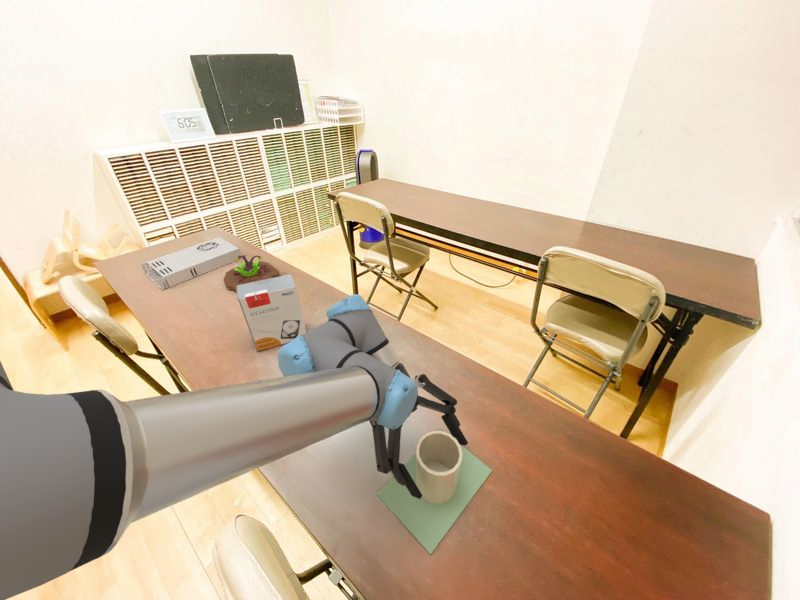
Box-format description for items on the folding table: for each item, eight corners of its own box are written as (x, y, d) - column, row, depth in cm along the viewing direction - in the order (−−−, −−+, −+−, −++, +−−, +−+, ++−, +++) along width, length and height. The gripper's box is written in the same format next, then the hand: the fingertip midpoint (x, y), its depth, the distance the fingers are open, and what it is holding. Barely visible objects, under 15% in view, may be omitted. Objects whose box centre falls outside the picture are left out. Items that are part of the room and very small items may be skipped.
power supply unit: (145, 274, 135) (140, 264, 132) (223, 246, 155) (219, 236, 152) (162, 290, 125) (156, 279, 122) (242, 258, 145) (239, 248, 142)
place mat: (430, 555, 56) (430, 554, 56) (376, 494, 64) (376, 493, 64) (492, 471, 67) (492, 470, 67) (439, 428, 75) (440, 427, 75)
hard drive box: (256, 352, 97) (235, 299, 85) (255, 337, 102) (235, 284, 90) (308, 337, 102) (295, 285, 90) (304, 323, 107) (291, 272, 95)
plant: (218, 278, 131) (208, 254, 125) (264, 261, 142) (257, 238, 135) (236, 299, 119) (226, 273, 113) (285, 279, 130) (278, 254, 123)
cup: (439, 514, 61) (442, 486, 54) (406, 481, 66) (406, 452, 59) (465, 481, 65) (471, 451, 59) (433, 453, 70) (435, 422, 64)
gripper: (417, 342, 71) (466, 424, 71) (322, 412, 56) (383, 515, 57) (437, 335, 64) (491, 426, 65) (336, 412, 50) (405, 528, 50)
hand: (441, 468), depth 61 cm, fingers open, 13 cm apart
